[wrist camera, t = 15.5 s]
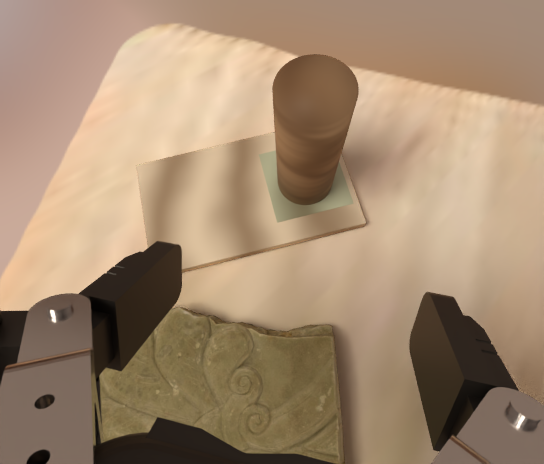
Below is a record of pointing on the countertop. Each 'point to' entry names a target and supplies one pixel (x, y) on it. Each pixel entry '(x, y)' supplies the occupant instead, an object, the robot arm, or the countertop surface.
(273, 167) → the birch board
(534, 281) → the countertop surface
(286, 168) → the walnut roller
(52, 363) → the robot arm
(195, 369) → the decorative tile
